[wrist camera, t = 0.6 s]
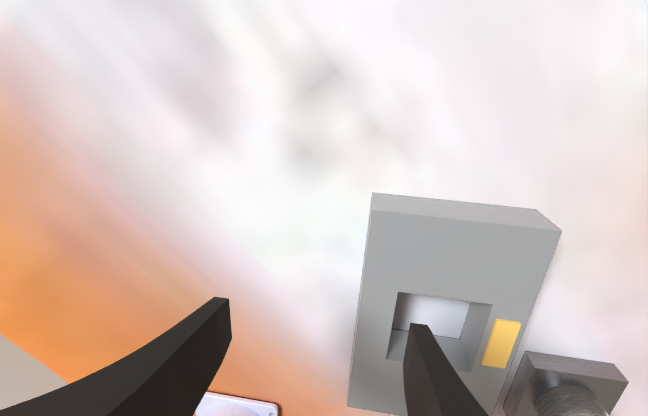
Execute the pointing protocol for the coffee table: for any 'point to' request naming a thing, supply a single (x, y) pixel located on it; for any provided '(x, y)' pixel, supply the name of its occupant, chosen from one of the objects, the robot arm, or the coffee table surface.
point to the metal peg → (569, 402)
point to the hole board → (447, 290)
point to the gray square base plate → (561, 381)
